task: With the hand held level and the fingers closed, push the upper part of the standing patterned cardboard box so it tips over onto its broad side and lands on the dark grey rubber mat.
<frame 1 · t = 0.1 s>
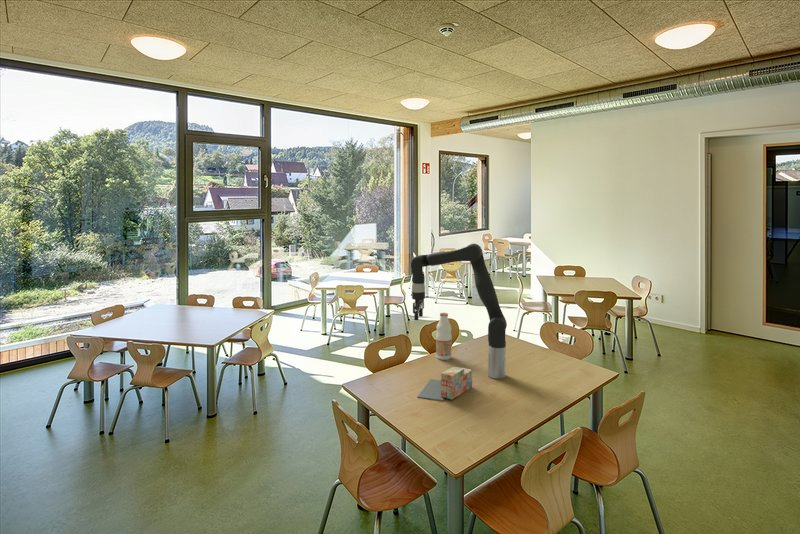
hand: (418, 318, 265), 29 cm above the table, tool pointing down, fingers open, 8 cm apart
fruit juice: (443, 357, 285), on the table
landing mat: (436, 389, 237), on the table
patterned cardboard box: (456, 392, 233), on the table, touching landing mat
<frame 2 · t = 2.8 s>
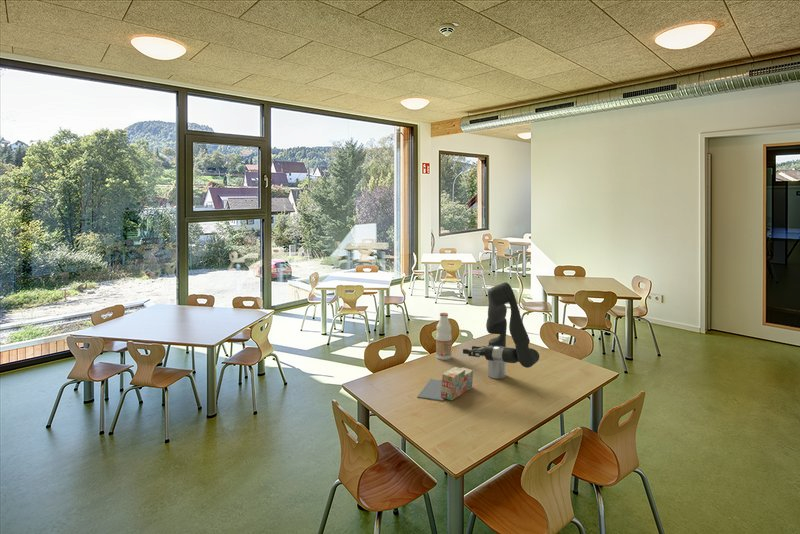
hand: (467, 349, 232), 22 cm above the table, tool horizontal, fingers open, 8 cm apart
nothing on the table moved.
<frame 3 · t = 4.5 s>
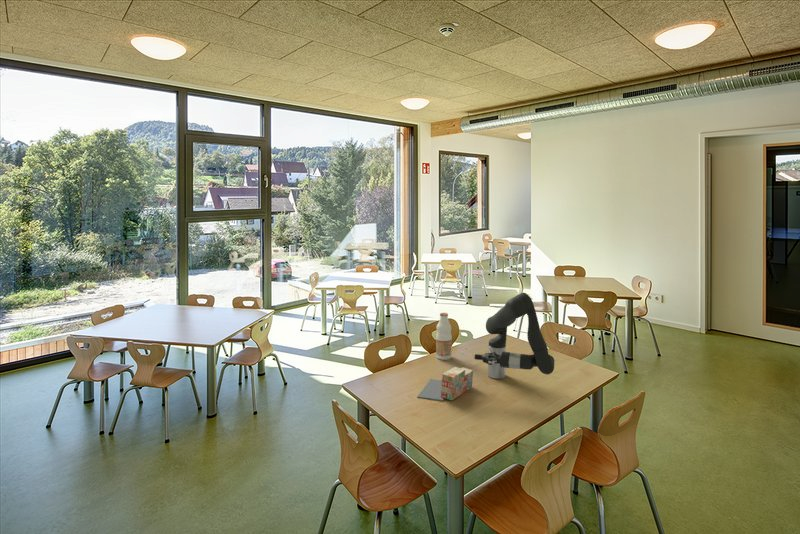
hand: (474, 356, 227), 20 cm above the table, tool horizontal, fingers closed
nothing on the table moved.
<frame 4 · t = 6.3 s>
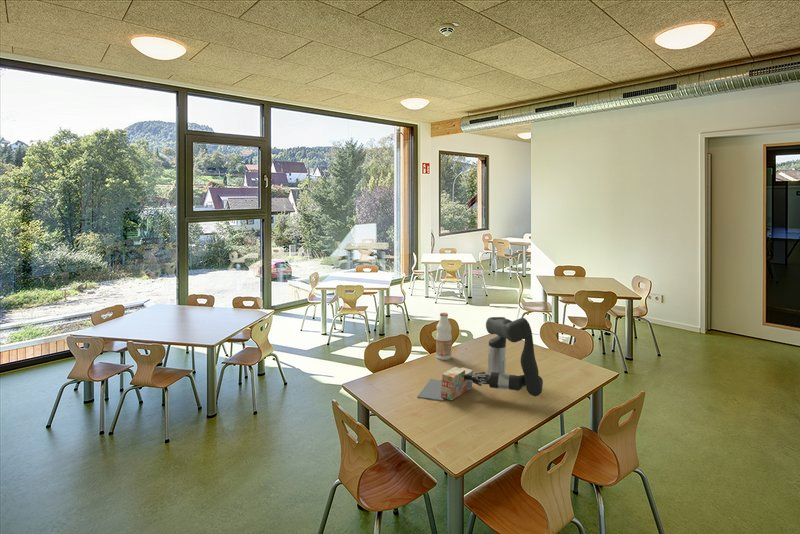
hand: (464, 376, 230), 9 cm above the table, tool horizontal, fingers closed
patterned cardboard box: (456, 392, 233), on the table, touching gripper, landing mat
everything else where it was.
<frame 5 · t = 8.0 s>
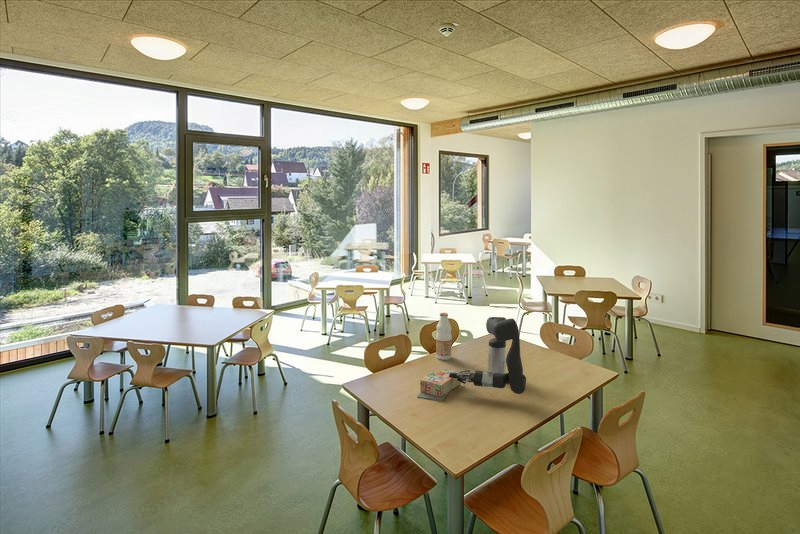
hand: (449, 374, 233), 9 cm above the table, tool horizontal, fingers closed
patterned cardboard box: (451, 384, 234), point 4 cm above the table, touching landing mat
everything else where it was.
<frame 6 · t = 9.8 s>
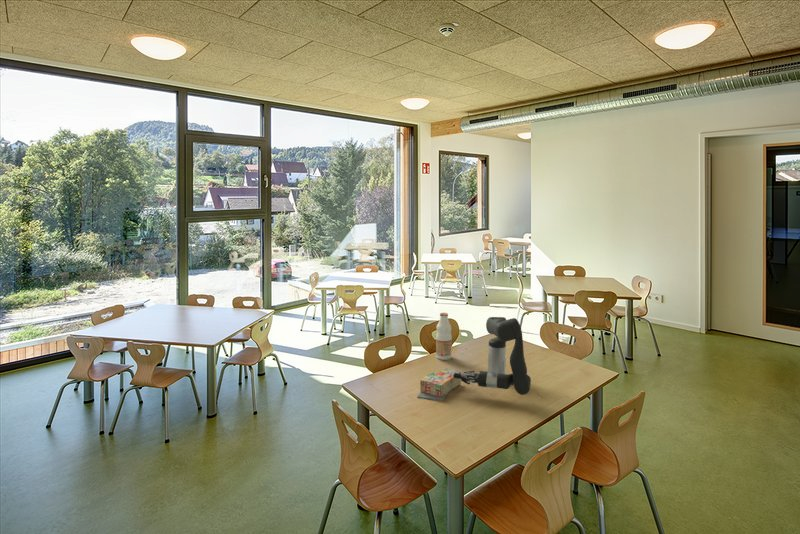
hand: (453, 375, 232), 9 cm above the table, tool horizontal, fingers closed
nothing on the table moved.
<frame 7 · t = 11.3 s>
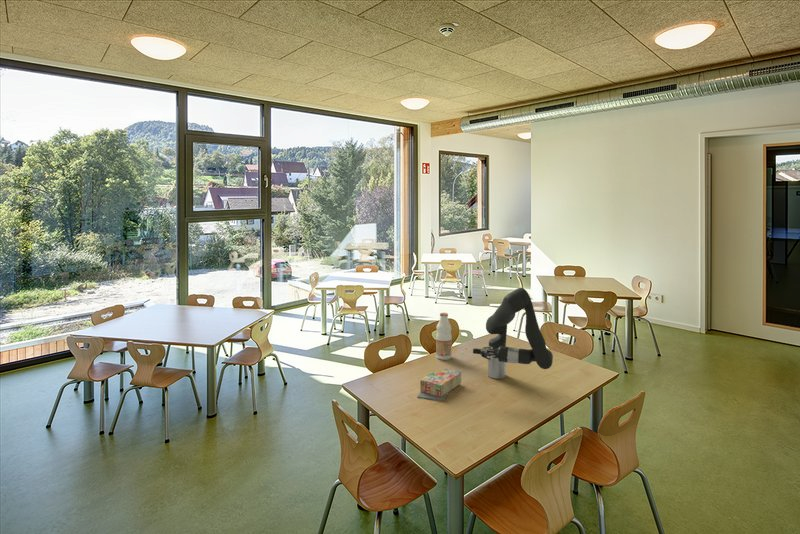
hand: (473, 350, 227), 23 cm above the table, tool horizontal, fingers closed
nothing on the table moved.
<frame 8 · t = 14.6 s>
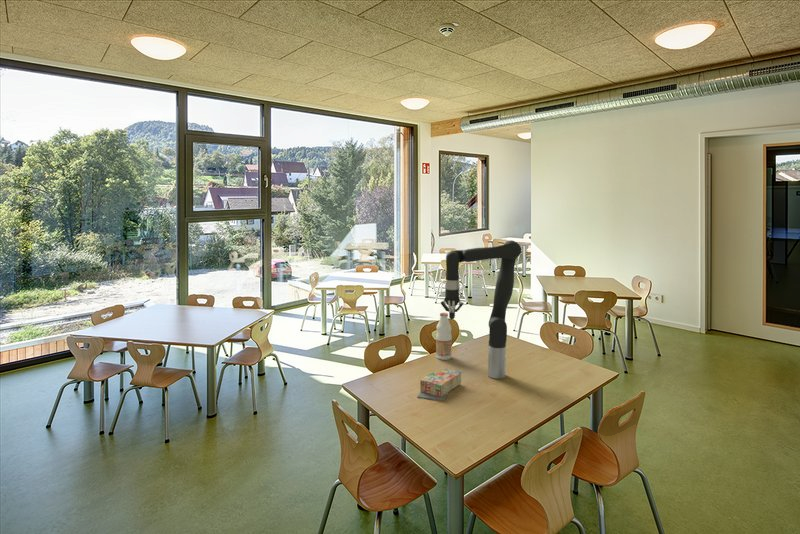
hand: (451, 318, 253), 32 cm above the table, tool pointing down, fingers closed
nothing on the table moved.
at the end: patterned cardboard box tilted 90°; patterned cardboard box touching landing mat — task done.
